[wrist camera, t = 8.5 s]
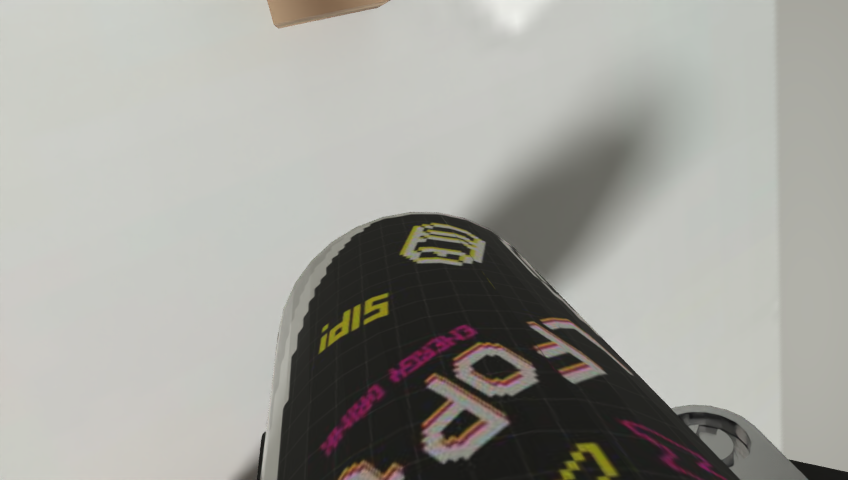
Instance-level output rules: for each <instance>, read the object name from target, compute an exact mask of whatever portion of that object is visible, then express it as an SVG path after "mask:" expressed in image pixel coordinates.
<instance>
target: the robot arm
mask: <svg viewBox="0 0 848 480" xmlns="http://www.w3.org/2000/svg"><path fill="white" fill-rule="evenodd" d="M672 410H673V411H674V412H675V413H676V414H677V415H678V416H679V417H680V418H681V419H682V420H683V421H684V422H685V423H686V424H687V425H688V427H689V428H690V429H691V430H692V431H693V432H694V433H695V434H696V435H697V436H698V437H699V438H700V439H701V440H702V441H703V442H704V443H705V444H706V445H707V446H708V447H709V448H710V449H711V450H712V451H713V452H714V453H715V454H716V455H717V456H718V457H719V458H720V459H721V460H722V461H723V462H724V463H725V464H726V465H727V466H728V467H729V468H730V469H731V470H732V472H733V473H734V474H735V475H736V476H737V477H738V478H739V479H740V480H848V472H845V471H840V470H835V469H830V468H826V467H821V466H817V465H812V464H807V463H803V462H798V461H793V460H788V459H787V458H786V457H785V456H784V455H783V454H782V453H781V452H780V451H779V450H778V449H777V448H776V447H775V446H774V445H773V444H772V443H771V442H770V441H769V440H768V439H767V438H766V437H765V436H764V435H763V434H762V433H761V432H760V431H759V430H758V429H757V428H756V427H755V426H754V425H753V424H751V423H750V422H749V421H747V420H746V419H745V418H743V417H742V416H740V415H737V414H735V413H733V412H731V411H728V410H725V409H721V408H717V407H713V406H704V405H687V406H680V407H675V408H672ZM265 436H266V432H264V433H263V435H262V439H261V447H260V457H259V466H258V475H257V480H260V477H261V469H262V461H263V453H264V444H265Z"/></svg>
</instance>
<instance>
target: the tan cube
mask: <svg viewBox="0 0 848 480" xmlns="http://www.w3.org/2000/svg"><path fill="white" fill-rule="evenodd" d="M267 1H268V5H269V8H270V12H271V16H272V20H273V23H274V25H275V26H276V27H277V28H283V27H288V26H292V25H297V24H302V23H307V22H311V21H316V20H321V19H326V18H331V17H335V16H340V15H345V14H350V13H355V12H359V11H364V10H369V9H374V8H378V7H379V6H381V5H383V4H385V3H386V2H388V1H390V0H267Z"/></svg>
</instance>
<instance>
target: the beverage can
mask: <svg viewBox="0 0 848 480" xmlns="http://www.w3.org/2000/svg"><path fill="white" fill-rule="evenodd" d="M260 480H740V479H739V478H738V477H737V476H736V475H735V474H734V473H733V472H732V470H731V469H730V468H729V467H728V466H727V465H726V464H725V463H724V462H723V461H722V460H721V459H720V458H719V457H718V456H717V455H716V454H715V453H714V452H713V451H712V450H711V449H710V448H709V447H708V446H707V445H706V444H705V443H704V442H703V441H702V440H701V439H700V438H699V437H698V436H697V435H696V434H695V433H694V432H693V431H692V430H691V429H690V428H689V427H688V425H687V424H686V423H685V422H684V421H683V420H682V419H681V418H680V417H679V416H678V415H677V414H676V413H675V412H674V411H673V410H672V409H671V408H670V407H669V406H668V405H667V404H666V403H665V402H664V401H663V400H662V399H661V398H660V397H659V396H658V395H657V394H656V393H655V392H654V391H653V390H652V389H651V388H650V387H649V386H648V385H647V384H646V383H645V382H644V380H643V379H642V378H641V377H640V376H639V375H638V374H637V373H636V372H635V371H634V370H633V369H632V368H631V367H630V366H629V365H628V364H627V363H626V362H625V361H624V360H623V359H622V358H621V357H620V356H619V355H618V354H617V353H616V352H615V351H614V350H613V349H612V348H611V347H610V346H609V345H608V344H607V343H606V342H605V341H604V340H603V339H602V338H601V337H600V336H599V334H598V333H597V332H596V331H595V330H594V329H593V328H592V327H591V326H590V325H589V324H588V323H587V322H586V321H585V320H584V319H583V318H582V317H581V316H580V315H579V314H578V313H577V312H576V311H575V310H574V309H573V308H572V307H571V306H570V305H569V304H568V303H567V302H566V301H565V300H564V299H563V298H562V297H561V296H560V295H559V294H558V293H557V292H556V291H555V289H554V288H553V287H552V286H551V285H550V284H549V283H548V282H547V281H546V280H545V279H544V278H543V277H542V276H541V275H540V274H539V273H538V272H537V271H536V270H535V269H534V268H533V267H532V266H531V265H530V264H529V263H528V262H527V261H526V260H525V259H524V258H523V257H522V256H521V255H520V254H519V253H518V252H517V251H516V250H515V249H514V248H513V247H512V246H511V244H509V243H508V242H506V241H505V240H504V239H502V238H501V237H499V236H498V235H497V234H495V233H494V232H493V231H491V230H490V229H488V228H485V227H483V226H481V225H479V224H476V223H474V222H472V221H470V220H467V219H465V218H461V217H456V216H452V215H447V214H442V213H430V212H409V213H403V214H398V215H392V216H386V217H382V218H379V219H377V220H374V221H371V222H369V223H366V224H363V225H361V226H358V227H356V228H354V229H352V230H351V231H349V232H348V233H346V234H344V235H343V236H341V237H339V238H338V239H336V240H335V241H333V242H332V243H330V244H329V245H328V246H327V247H326V248H325V249H324V250H323V251H322V252H321V253H320V254H318V255H317V256H316V257H315V258H314V259H313V260H312V261H311V262H310V264H309V265H308V266H307V268H306V269H305V270H304V272H303V273H302V274H301V276H300V277H299V279H298V280H297V281H296V283H295V285H294V287H293V289H292V291H291V293H290V296H289V298H288V300H287V302H286V305H285V307H284V309H283V313H282V318H281V323H280V327H279V332H278V338H277V346H276V354H275V363H274V371H273V379H272V387H271V395H270V403H269V412H268V420H267V428H266V436H265V444H264V453H263V461H262V469H261V477H260Z"/></svg>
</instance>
